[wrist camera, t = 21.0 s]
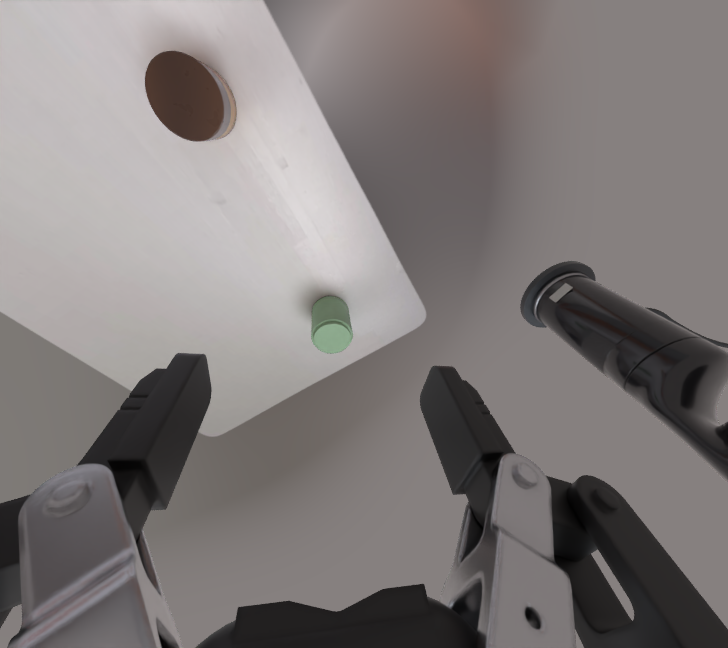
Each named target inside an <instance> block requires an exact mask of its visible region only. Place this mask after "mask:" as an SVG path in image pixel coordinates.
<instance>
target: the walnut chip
mask: <svg viewBox="0 0 728 648" xmlns="http://www.w3.org/2000/svg"><path fill="white" fill-rule="evenodd" d="M145 87H146V93H147V97H148V100H149V102H150V105H151V107H152V109H153V111H154V112H155V114H156V115H157V117H158V118H159V120H160V121H161V122H162V123H163V124H164V125H165V126H166V127H167V128H168V129H169V130H170V131H172V132H173V133H174V134H176V135H178V136H180V137H181V138H184V139H186V140H190V141H211V140H215V139H217V138H219V137H220V136H222V135H223V134H224V133H225V131H226V130H227V128H228V126H229V123H230V119H231V106H230V101H229V97H228V94H227V92H226V90H225V87H224V86H223V84H222V82H221V81H220V79H219V78H218V77H217V76H216V74H215V73H214V72H213V71H212V70H211V69H210V68H208V67H207V66H206V65H204V64H203V63H201V62H199V61H198V60H196V59H195V58H193V57H191V56H189V55H187V54H185V53H182V52H178V51H166V52H162V53H160V54H158V55H157V56H155V57H154V58H153V59H152V60H151V62H150V63H149V65H148V67H147V71H146V76H145Z"/></svg>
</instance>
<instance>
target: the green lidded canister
mask: <svg viewBox="0 0 728 648" xmlns="http://www.w3.org/2000/svg"><path fill="white" fill-rule="evenodd" d="M352 337H353V333H352V327H351V322H350V316H349V311H348V307H347V305H346V303H345V302H344V301H343V300H342V299H340V298H338V297H334V296H327V297H323V298H321V299H319V300H318V301H317V302H316V303H315V304H314V306H313V308H312V330H311V338H312V342H313V344H314V345H315V346H316V347H317V348H318V349H319V350H320V351H322V352H325V353H330V354H332V353H338V352H341V351H343V350H344V349H346V348H347V347H348V345H349V344H350V343H351V341H352Z"/></svg>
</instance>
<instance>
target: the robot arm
mask: <svg viewBox="0 0 728 648" xmlns="http://www.w3.org/2000/svg"><path fill="white" fill-rule="evenodd" d="M532 314H533V316H534V317H535V318H536V319H537V320H538V321H540V322H541V323H543V324H544V325H545V326H547V327H548V328H549V329H550V330H551V331H552V332H554V333H555V334H556V335H557V336H559V337H560V338H561V339H562V340H563V341H564V342H566V343H567V344H568V345H569V346H570V347H572V348H573V349H574V350H575V351H576V352H578V353H579V354H580V355H581V356H582V357H584V358H585V359H586V360H587V361H589V362H590V363H591V364H592V365H593V366H594V367H596V368H597V369H598V370H599V371H600V372H602V373H603V374H604V375H605V376H606V377H608V378H609V379H610V380H612V381H613V382H614V383H615V384H616V385H617V386H619V387H620V388H621V389H622V390H623V391H625V392H626V393H627V394H628V395H630V396H631V397H632V398H633V399H634V400H636V401H637V402H638V403H639V404H640V405H642V406H643V407H644V408H645V409H646V410H647V411H648V412H650V413H651V414H652V415H653V416H654V417H655V418H657V419H658V420H659V421H660V422H661V423H662V424H664V425H665V426H666V427H667V428H668V429H669V430H671V431H672V432H673V433H674V434H675V435H676V436H678V437H679V438H680V439H681V440H682V441H683V442H684V443H685V444H686V445H687V446H689V447H690V448H691V449H692V450H693V451H694V452H695V453H696V454H697V455H698V456H699V457H701V458H702V459H703V460H704V461H705V462H706V463H707V464H708V465H709V466H710V467H711V468H712V469H714V470H715V471H716V472H717V473H718V474H719V475H720V476H721V477H722V478H723V479H724V480H725V481H727V482H728V422H726V423H725V424H723V425H720V424H719V422H718V419H717V405H718V401H719V398H720V396H721V394H722V392H723V390H724V388H725V387H726V385H727V383H728V352H727V351H725V350H724V349H722V348H720V347H719V346H721V347H727V348H728V344H726V343H721V342H718V341H715V340H712V339H709V338H706V337H704V336H701V335H699V334H697V333H695V332H693V331H691V330H689V329H687V328H686V327H684V326H682V325H681V324H679V323H677V322H676V321H674V320H673V319H671V318H670V317H669V316H667V315H666V314H665V313H663V312H661V311H659V310H656V309H652V308H644V307H643V306H641V305H639V304H637V303H635V302H633V301H631V300H629V299H627V298H626V297H623V296H622V295H620V294H618V293H616V292H614V291H612V290H610V289H608V288H607V287H605V286H603V285H601V284H599V283H597V282H595V281H594V280H592V279H590V278H589V277H587V276H586V275H584V274H582V273H580V272H575V271H571V272H565V273H562V274H559V275H557V276H555V277H554V278H552V279H550V280H549V281H548V282H547V283H545V284H544V285H543V286H542V287H541V288H540V290H539V291H538V292H537V294H536V295H535V297H534V300H533V302H532ZM210 399H211V382H210V376H209V370H208V364H207V358H206V356H205V355H204V354H189V353H178V354H176V355H175V357H174V358H173V359H172V361H171V363H170V364H169V366H168V367H167V369H155V370H154V371H152V372H151V373H150V374H148V375H147V376H145V377H144V378H143V379H141V380H140V381H139V382H138V384H137V385H136V387H135V388H134V389H133V391H132V392H131V393H130V396H129V398H127V399H126V400H125V402H124V403H123V404H122V406H121V408H120V410H118V411H117V412H116V414H115V415H114V417H113V418H112V419H111V421H110V422H109V423H108V425H107V426H106V427H105V429H104V430H103V432H102V433H101V434H100V436H99V437H98V438H97V440H96V441H95V442H94V444H93V445H92V446H91V448H90V449H89V451H88V452H87V453H86V455H85V456H84V457H83V459H82V460H81V461H80V462H79V464H78V465H77V466H75V467H72V468H70V469H67V470H65V471H63V472H61V473H59V474H57V475H55V476H53V477H52V478H50V479H49V480H47V481H46V482H44V483H43V484H42V485H40V486H39V487H38V488H37V489H36V490H35V491H34V492H33V493H32V494H31V495H27V496H24V497H21V498H18V499H14V500H11V501H7V502H4V503H1V504H0V628H1V626H2V624H3V623H4V621H5V619H6V618H7V616H8V614H9V612H10V611H11V609H12V608H13V607H15V606H17V605H20V604H22V625H21V629H20V631H19V633H18V634H17V635H15V636H14V637H13V638H12V639H11V640H10V642H9V644H8V647H7V648H183V646H182V643H181V639H180V636H179V634H178V630H177V627H176V625H175V622H174V619H173V616H172V614H171V612H170V609H169V607H168V605H167V602H166V599H165V597H164V594H163V591H162V587H161V584H160V581H159V578H158V575H157V571H156V568H155V565H154V562H153V559H152V556H151V552H150V549H149V546H148V543H147V540H146V537H145V533H144V530H143V526H144V524H145V521H146V519H147V517H148V514H149V513H150V510H163V509H166V508H167V506H168V504H169V501H170V499H171V496H172V493H173V491H174V489H175V486H176V484H177V481H178V479H179V477H180V474H181V472H182V469H183V467H184V465H185V462H186V460H187V457H188V455H189V452H190V450H191V447H192V445H193V442H194V440H195V438H196V435H197V433H198V431H199V428H200V426H201V423H202V421H203V418H204V416H205V413H206V411H207V409H208V406H209V403H210ZM420 406H421V410H422V413H423V415H424V418H425V421H426V423H427V426H428V429H429V431H430V434H431V437H432V439H433V442H434V445H435V447H436V450H437V453H438V456H439V458H440V460H441V464H442V466H443V469H444V472H445V474H446V477H447V479H448V482H449V485H450V488H451V490H452V493H453V495H455V494H466V496H467V498H468V501H469V502H468V504H467V505H466V508H465V512H464V517H463V521H462V526H461V530H460V535H459V539H458V544H457V548H456V553H455V558H454V562H453V565H452V568H451V571H450V573H449V575H448V577H447V579H446V582H445V584H444V587H443V590H442V593H441V597H440V601H437V600H435V599H432V598H430V597H427V595H426V590H425V586H424V584H419V585H411V586H403V587H395V588H387V589H382V590H380V591H378V592H376V593H374V594H372V595H371V596H369V597H367V598H365V599H363V600H361V601H359V602H358V603H356V604H353V605H352V606H350V607H348V608H346V609H344V610H342V611H338V612H335V611H329V610H325V609H320V608H317V607H312V606H308V605H304V604H299V603H295V602H291V601H284V602H277V603H269V604H261V605H253V606H244V607H239V608H238V611H237V616H236V620H235V621H233V622H231V623H229V624H227V625H225V626H224V627H222V628H221V629H219V630H218V631H216V632H214V633H213V634H211V635H210V636H209V637H208V638H206V639H205V640H204V641H203V642H201V643H200V644H199V645H198V646H197V647H196V648H576V637H575V629H576V631H577V633H578V635H579V637H580V640H581V642H582V644H583V646H584V648H728V629H727V628H726V627H725V625H724V624H723V623H722V622H721V620H720V619H719V618H718V616H717V615H716V614H715V613H714V611H713V610H712V609H711V608H710V606H709V605H708V604H707V602H706V601H705V600H704V599H703V597H702V596H701V595H700V594H699V593H698V591H697V590H696V589H695V588H694V586H693V585H692V584H691V582H690V581H689V580H688V579H687V577H686V576H685V575H684V574H683V572H682V571H681V570H680V569H679V567H678V566H677V565H676V563H675V562H674V561H673V560H672V558H671V557H670V556H669V555H668V553H667V552H666V551H665V550H664V548H663V547H662V546H661V545H660V543H659V542H658V541H657V539H656V538H655V537H654V536H653V534H652V533H651V532H650V531H649V529H648V528H647V527H646V526H645V524H644V523H643V522H642V521H641V519H640V518H639V517H638V516H637V514H636V513H635V512H634V510H633V509H632V508H631V507H630V505H629V504H628V503H627V502H626V500H625V499H624V498H623V497H622V496H621V495H620V494H619V493H618V492H617V491H616V490H615V489H614V488H613V487H611V486H610V485H608V484H607V483H605V482H604V481H602V480H600V479H598V478H596V477H593V476H588V475H584V476H581V477H579V478H578V479H577V480H576V481H575V482H574V483H573V484H571V483H568V482H565V481H562V480H558V479H555V478H552V477H548V476H545V474H544V473H543V471H542V470H541V469H540V468H539V467H538V466H537V465H536V464H535V463H534V462H532V461H531V460H529V459H528V458H526V457H524V456H522V455H519V454H516V453H515V452H514V450H513V449H512V447H511V445H510V444H509V442H508V440H507V439H506V437H505V436H504V434H503V433H502V431H501V429H500V427H499V426H498V424H497V423H496V421H495V419H494V418H493V416H492V415H490V411H489V410H488V408H487V407H486V405H484V402H483V400H482V399H481V397H480V395H479V394H478V392H477V390H475V389H474V388H473V387H472V386H471V385H470V384H469V383H468V382H467V381H464V380H462V379H461V377H460V376H459V374H458V372H457V371H456V369H455V368H453V367H449V366H433V367H432V368H431V370H430V372H429V375H428V377H427V380H426V382H425V384H424V387H423V389H422V392H421V396H420ZM597 549H598V550H599V552H600V553H601V555H602V556H603V558H604V559H605V561H606V563H607V564H608V566H609V567H610V569H611V570H612V572H613V574H614V575H615V577H616V578H617V580H618V581H619V583H620V585H621V586H622V588H623V590H624V591H625V593H626V594H627V596H628V597H629V599H630V601H631V603H632V606H633V609H634V620H633V621H632V620H631V619H630V617H629V616H628V614H627V613H626V611H625V610H624V608H623V607H622V605H621V603H620V601H619V600H618V598H617V596H616V595H615V593H614V591H613V590H612V588H611V587H610V585H609V583H608V582H607V580H606V578H605V577H604V575H603V573H602V572H601V570H600V568H599V567H598V565H597V563H596V562H595V560H594V558H593V557H592V555H591V553H593V552H594V551H596V550H597Z"/></svg>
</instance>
